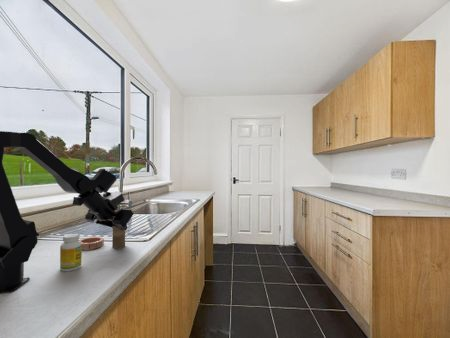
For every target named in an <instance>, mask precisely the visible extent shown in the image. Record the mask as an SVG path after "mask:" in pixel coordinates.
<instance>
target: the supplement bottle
mask: <svg viewBox="0 0 450 338" xmlns="http://www.w3.org/2000/svg"><path fill="white" fill-rule="evenodd" d="M79 240H80V234H79V233H68V234H65V235H64V236H63V237H62V241H63V243H61V244H60V248H59V256H60V257H59V269H60V271H61V272H71V271H76V270H78V269H79V268H81V267H82V260H83V259H82V256H83V255H82V251H83V250H82V243H81V242H80V241H79Z"/></svg>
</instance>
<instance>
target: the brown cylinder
mask: <svg viewBox="0 0 450 338" xmlns="http://www.w3.org/2000/svg"><path fill="white" fill-rule="evenodd" d="M125 247H126V230H123V229H120V228H117V227H113V228H112V248H111V249H115V250H117V249H118V250H119V249H123V248H125Z"/></svg>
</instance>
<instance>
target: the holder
mask: <svg viewBox="0 0 450 338" xmlns="http://www.w3.org/2000/svg"><path fill="white" fill-rule="evenodd" d="M78 241H80V242H81V243H82V251H89V250H95V249H99V248H101V247H103V246H105V244H104V243H105V238H104V237H100V236H91V237H84V238H81V239H79V240H78Z"/></svg>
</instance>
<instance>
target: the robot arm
mask: <svg viewBox="0 0 450 338" xmlns="http://www.w3.org/2000/svg"><path fill="white" fill-rule="evenodd" d="M6 148H11V149H12V148H16V149H19V151H21V152H22V153H24V154H25V155H26V156H28V158H30V159H31V160H33V161H34V162H35V163H36V164H37V165H39V166H40V167H41V168H43V169H44V170H45V171H46V172H48V173H49V174H50V175H52V177H54V179H55V182H56V184H58V186H59V187H60V188H61V190H63V191H64V192H66V193H68V194H69V193H70V194H78V195H77V196H74V197H72V198H73V199H72V206H78V207H81V206H82V205H83V206H85V207H86V208H87V209H88V210H87V213H86V214H85V215H84V216H85V220H86V221H87V222H88V223H94V222H95V224H96V225H101V226H104V227H109V228H112V229H113V227H117V228H120V229H123V230H125V231H127V230H128V229H129V228H128V223H129V222H130V220H131V219H132V217H133V216H134V211H133V210H132V209H130V208H120V209H119V210H118V211H116V210H117V209H118V208H119V206H118V205H120V204H122V202H125V200H126V199H125V198H124V195H123V192H120V191H119V192H118V191H113V192H110V191H109V190H110V189H111V188H112V186H113V185H114V184H115V183H116V181H117V179H118V178H117V177H116V175H115V174H113V173H111V172H110V171H108V170H106V168H99V170H97V172H96V173H95V174H94V176H93V177H91V178H89V176H87V175H85V174H84V173H82V172H80V171H79V170H76V169H74V168H71V167H70V166H68V165H67V164H66V163H65V162H64V161H63V160H61V159H60V158H59V157H58V156H57V155H55V154H54V153H53V152H52V151H51V150H50V149H49V148H47V146H45V145H44V144H43V143H42V142H41V141H40V140H38V139H37V137H36V136H35V135H34V134H32V133H30V132H17V131H15V132H14V131H5V130H4V131H3V130H0V293H12V292H14V291H16V290H17V289H19V288H20V287H22V286H23V285H24V284H26V283H27V282H29V281H30V280H31V278H30V277H25V276H24V274H25V273H24V267H25V266H24V265H25V264H24V263H26V262H28V261H29V259H30V257H31V255H32V252H33V250H34V249H35V248H36V245H38V242H39V240H38V237H39V236H40V234H39V232H38V231H37V230H36V228H37V227H36V223H35V222H34V221H31V220H27V219H24V218H23V217H22V215H21V213H20V210H19V206H18V204H17V201H16V198H15V195H14V193H13V189H12V187H11V184H10V182H9V179H8V175H7V173H6V170H5V168H4V165H3V162H4V154H5V149H6ZM101 194H102V195H101Z"/></svg>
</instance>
